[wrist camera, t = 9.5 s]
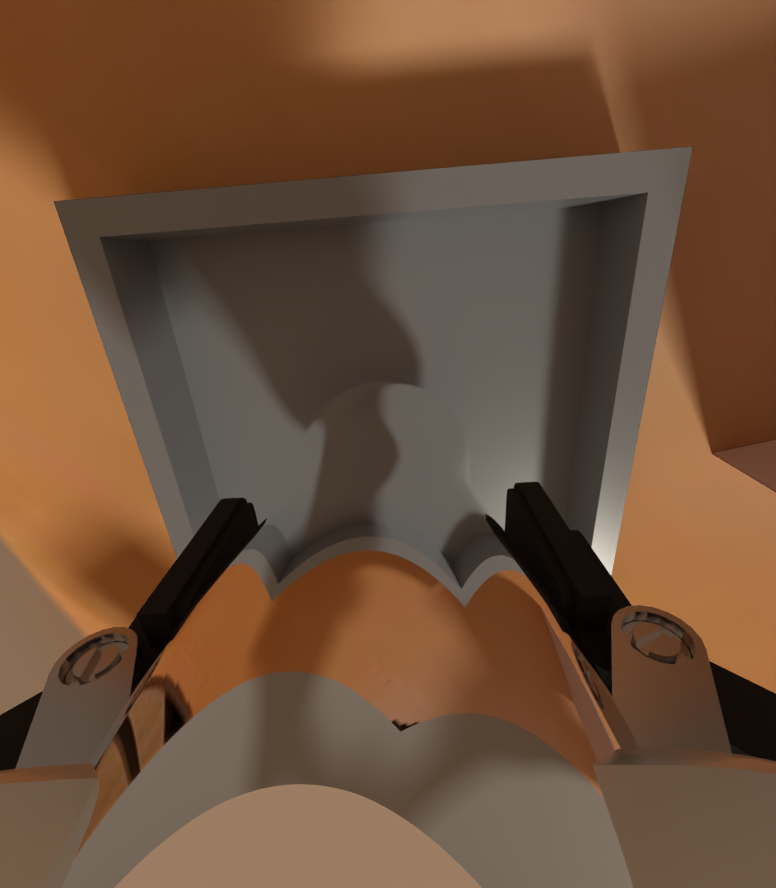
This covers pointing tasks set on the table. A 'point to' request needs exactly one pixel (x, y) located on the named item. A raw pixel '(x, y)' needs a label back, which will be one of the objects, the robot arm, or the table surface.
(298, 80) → the table surface
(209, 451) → the tray
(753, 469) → the greeting card
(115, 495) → the table surface
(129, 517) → the table surface
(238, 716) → the beer glass
